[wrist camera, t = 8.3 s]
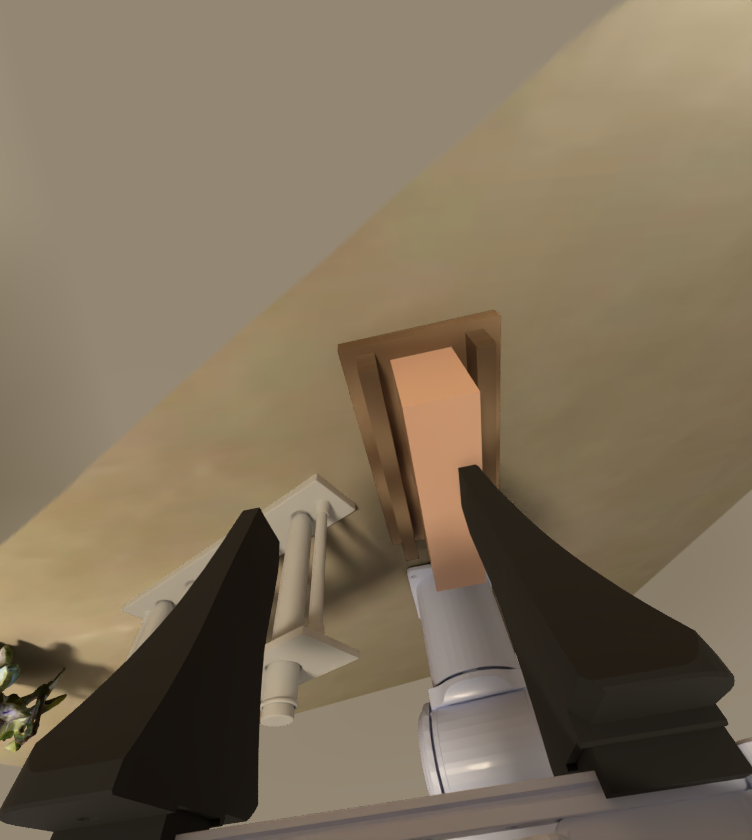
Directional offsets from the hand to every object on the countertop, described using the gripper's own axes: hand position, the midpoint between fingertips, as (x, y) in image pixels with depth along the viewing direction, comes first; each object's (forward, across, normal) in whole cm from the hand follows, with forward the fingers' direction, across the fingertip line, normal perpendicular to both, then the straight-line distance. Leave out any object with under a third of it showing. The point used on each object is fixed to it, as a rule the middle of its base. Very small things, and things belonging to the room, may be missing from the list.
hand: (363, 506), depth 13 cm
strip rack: (+10, -4, +7) cm, 13 cm away
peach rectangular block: (+9, -4, +7) cm, 12 cm away
